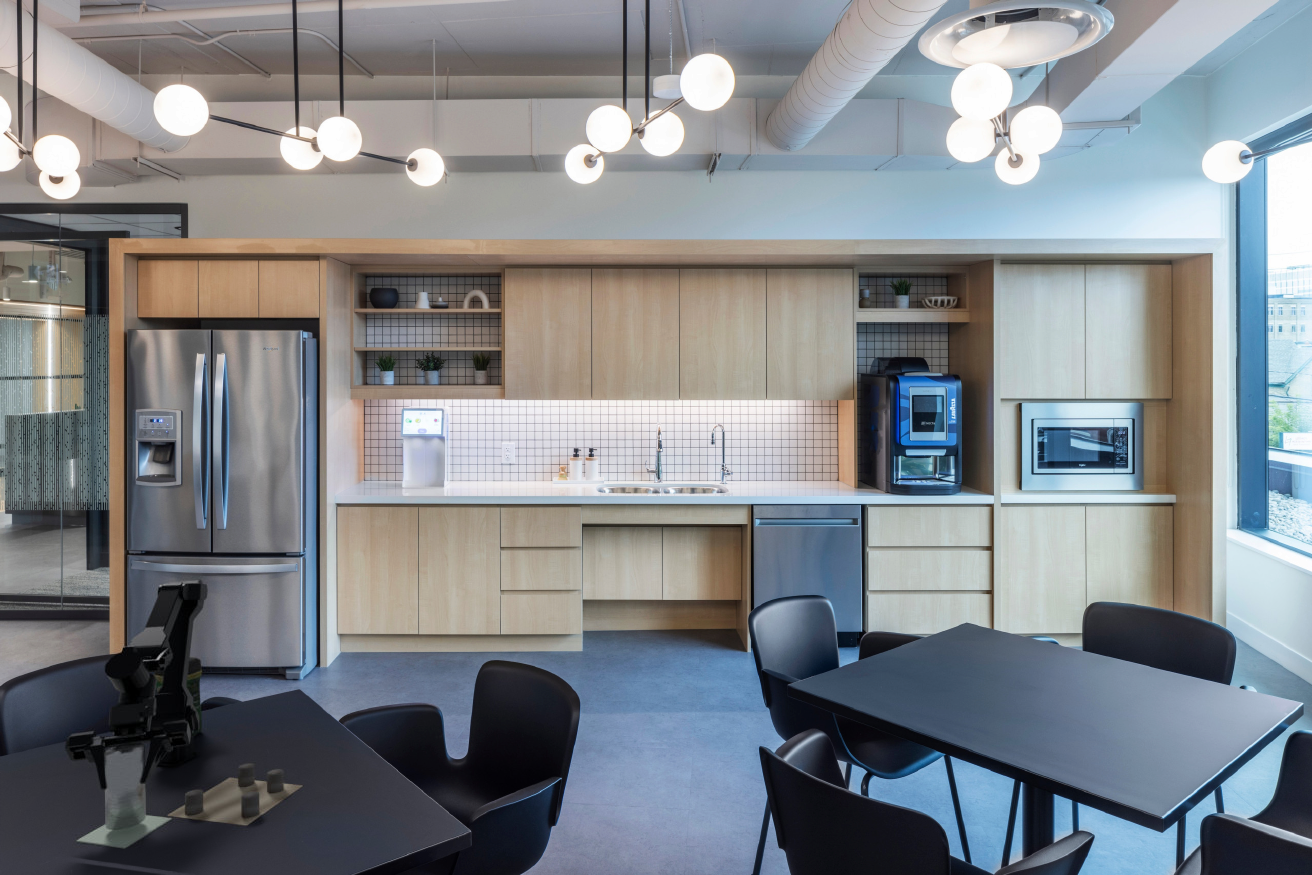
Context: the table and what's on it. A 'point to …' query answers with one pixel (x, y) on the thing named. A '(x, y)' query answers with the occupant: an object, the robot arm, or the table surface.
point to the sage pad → (124, 833)
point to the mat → (237, 798)
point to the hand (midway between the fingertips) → (123, 786)
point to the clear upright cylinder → (124, 786)
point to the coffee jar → (189, 686)
